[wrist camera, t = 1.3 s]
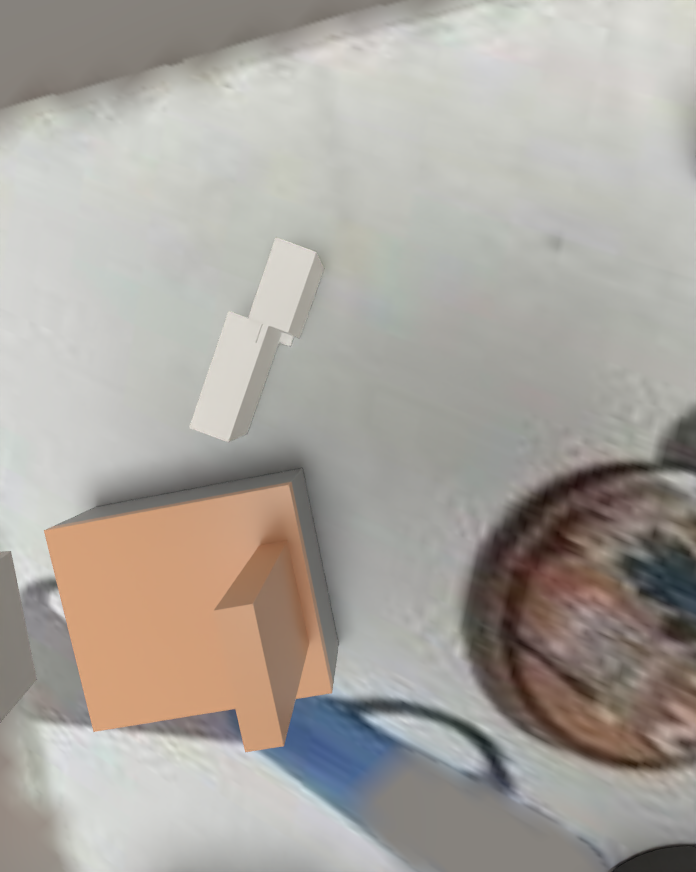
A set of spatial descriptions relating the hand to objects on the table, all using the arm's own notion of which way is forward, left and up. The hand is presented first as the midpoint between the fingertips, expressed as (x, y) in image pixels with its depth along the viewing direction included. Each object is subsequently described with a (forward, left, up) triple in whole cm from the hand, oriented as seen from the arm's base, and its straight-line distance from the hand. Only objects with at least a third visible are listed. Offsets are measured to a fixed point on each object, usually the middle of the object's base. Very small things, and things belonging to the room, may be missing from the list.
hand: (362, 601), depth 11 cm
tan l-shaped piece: (-7, +12, -23) cm, 26 cm away
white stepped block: (+7, +5, -27) cm, 28 cm away
